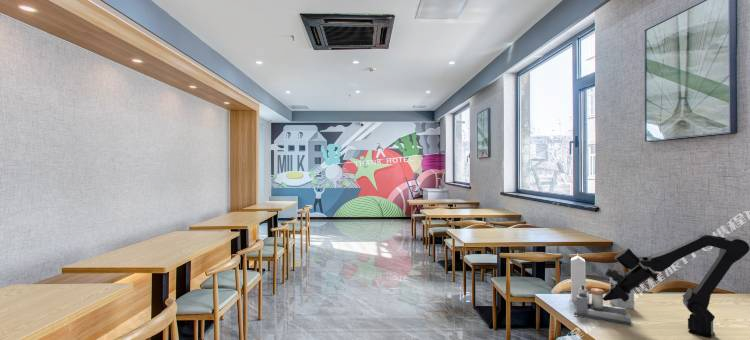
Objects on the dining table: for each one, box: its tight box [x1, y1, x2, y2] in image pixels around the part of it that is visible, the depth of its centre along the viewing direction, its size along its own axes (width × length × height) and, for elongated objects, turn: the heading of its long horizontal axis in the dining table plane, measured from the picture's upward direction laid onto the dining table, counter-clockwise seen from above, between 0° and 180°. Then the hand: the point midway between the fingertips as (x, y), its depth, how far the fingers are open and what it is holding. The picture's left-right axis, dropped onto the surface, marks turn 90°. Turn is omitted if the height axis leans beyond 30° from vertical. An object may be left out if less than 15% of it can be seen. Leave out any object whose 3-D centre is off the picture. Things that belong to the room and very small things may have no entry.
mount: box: [573, 291, 632, 327], centre depth 157 cm, size 20×10×8 cm, turn 57°
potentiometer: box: [579, 285, 588, 296], centre depth 161 cm, size 3×3×4 cm
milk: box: [570, 252, 587, 302], centre depth 179 cm, size 6×6×22 cm
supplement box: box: [609, 277, 635, 309], centre depth 170 cm, size 7×7×13 cm
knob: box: [590, 287, 605, 311], centre depth 158 cm, size 5×6×9 cm
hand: (603, 299), depth 157 cm, fingers closed, pressing on knob
